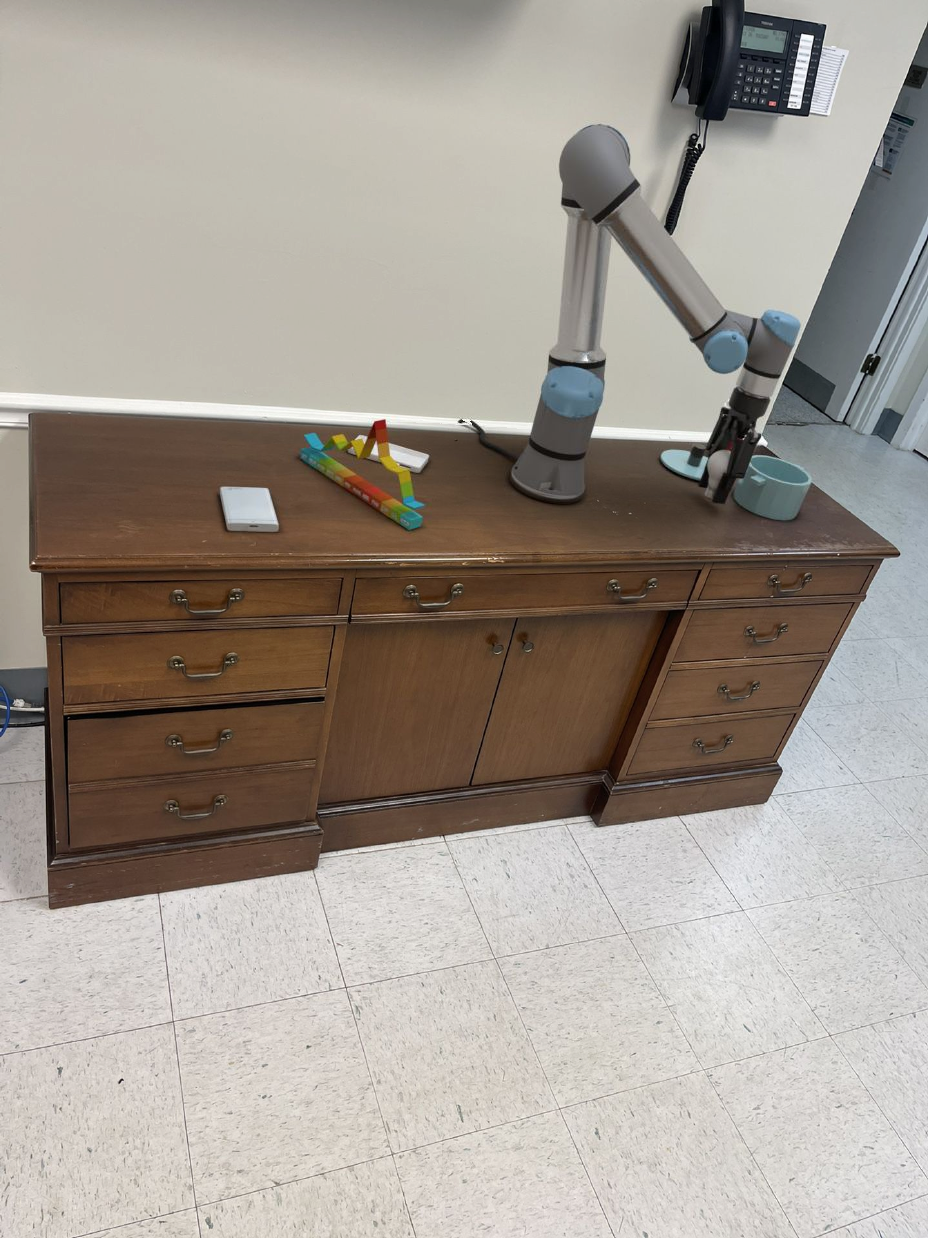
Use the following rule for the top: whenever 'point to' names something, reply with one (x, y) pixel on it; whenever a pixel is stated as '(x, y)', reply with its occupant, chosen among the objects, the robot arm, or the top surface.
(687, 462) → the lid
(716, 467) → the lightbulb
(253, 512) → the hard drive
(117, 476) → the top surface
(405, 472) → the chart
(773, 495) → the pot
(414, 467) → the phone case
